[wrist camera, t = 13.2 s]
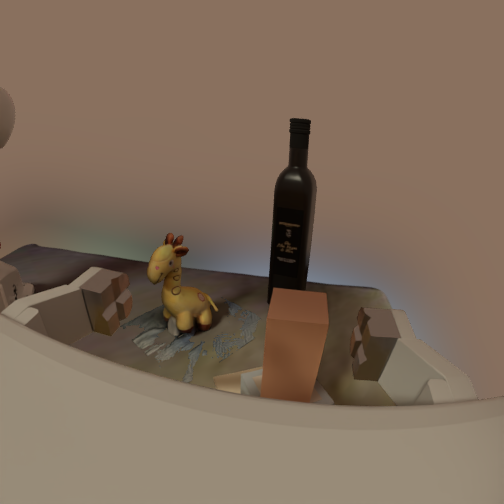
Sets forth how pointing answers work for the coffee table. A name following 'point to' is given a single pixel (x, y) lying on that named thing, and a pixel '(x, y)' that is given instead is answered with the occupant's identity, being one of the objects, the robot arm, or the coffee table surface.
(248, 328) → the stuffed giraffe
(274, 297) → the pillar
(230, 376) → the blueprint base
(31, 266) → the coffee table surface
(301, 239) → the wine bottle
